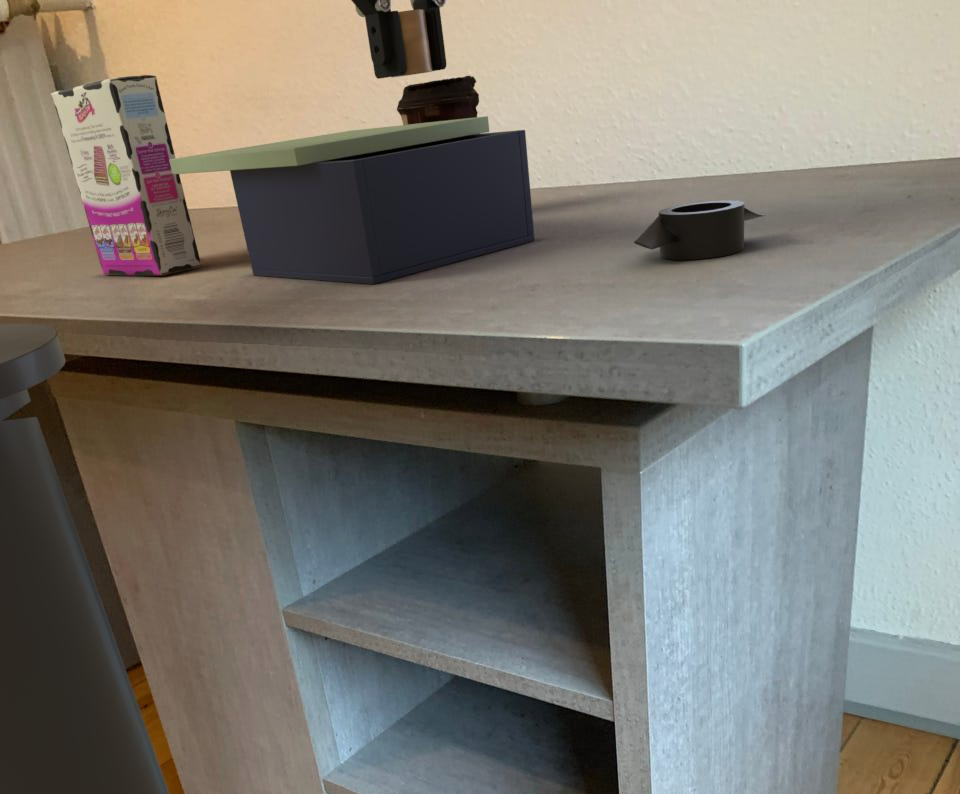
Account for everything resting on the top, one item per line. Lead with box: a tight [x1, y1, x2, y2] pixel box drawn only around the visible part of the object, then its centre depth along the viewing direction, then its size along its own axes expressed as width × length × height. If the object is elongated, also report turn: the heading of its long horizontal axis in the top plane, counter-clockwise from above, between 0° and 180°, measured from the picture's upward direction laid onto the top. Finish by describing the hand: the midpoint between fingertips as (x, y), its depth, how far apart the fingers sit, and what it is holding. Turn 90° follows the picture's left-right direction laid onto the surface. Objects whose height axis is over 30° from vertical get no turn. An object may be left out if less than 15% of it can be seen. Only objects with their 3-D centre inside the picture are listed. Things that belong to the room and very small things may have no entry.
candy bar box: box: [50, 74, 202, 277], centre depth 93 cm, size 11×5×16 cm, turn 49°
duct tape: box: [633, 199, 767, 261], centre depth 68 cm, size 8×10×3 cm
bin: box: [229, 129, 536, 285], centre depth 83 cm, size 18×18×8 cm
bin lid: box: [169, 115, 490, 175], centre depth 85 cm, size 20×20×1 cm
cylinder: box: [392, 9, 433, 78], centre depth 73 cm, size 3×3×4 cm
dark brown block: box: [396, 75, 480, 125], centre depth 100 cm, size 9×8×13 cm
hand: (410, 71), depth 74 cm, fingers closed on cylinder, 3 cm apart
